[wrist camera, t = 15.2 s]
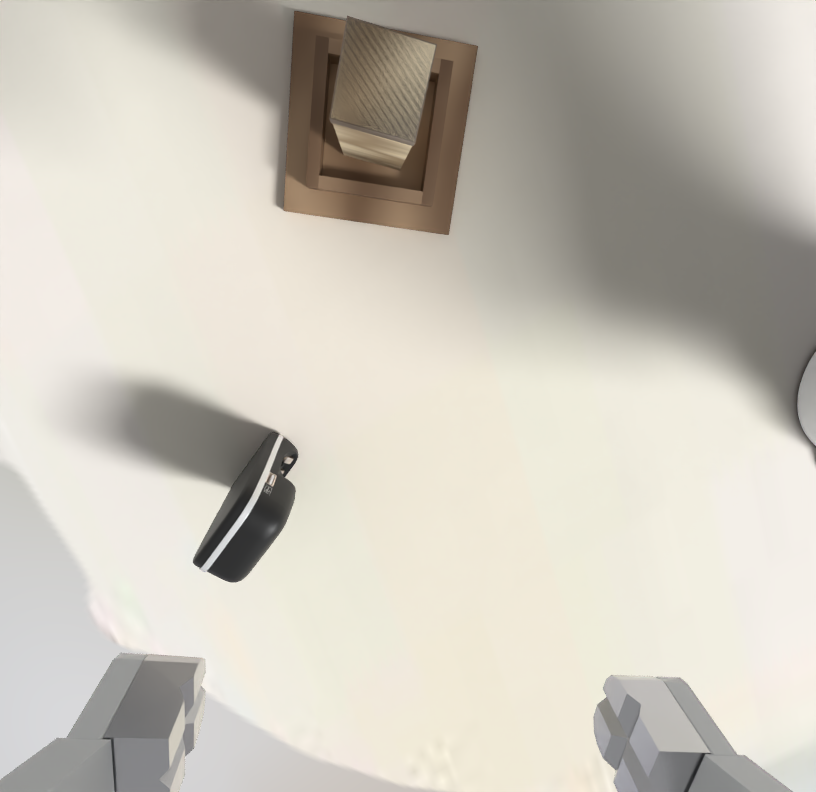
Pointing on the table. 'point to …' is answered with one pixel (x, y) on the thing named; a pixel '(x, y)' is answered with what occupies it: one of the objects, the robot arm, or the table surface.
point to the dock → (360, 180)
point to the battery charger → (250, 513)
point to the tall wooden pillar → (380, 92)
